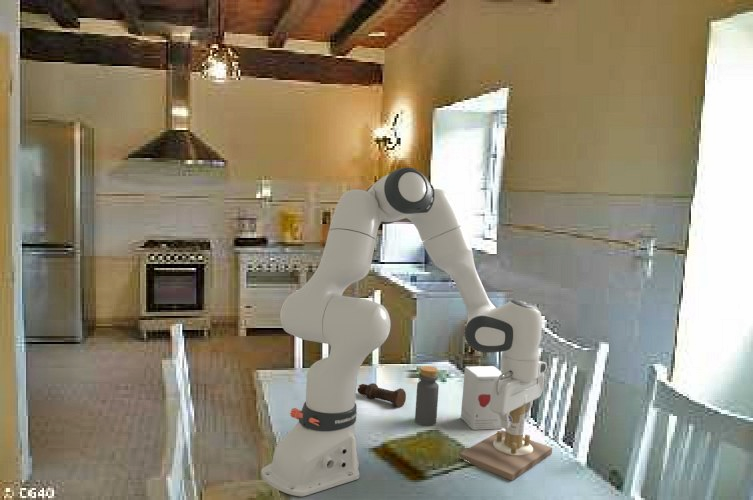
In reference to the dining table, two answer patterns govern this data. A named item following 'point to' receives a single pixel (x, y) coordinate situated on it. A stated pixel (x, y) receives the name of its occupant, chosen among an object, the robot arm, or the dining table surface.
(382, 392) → the bolt
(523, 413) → the sprinkles bottle
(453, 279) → the robot arm
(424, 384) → the bottle
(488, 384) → the supplement box
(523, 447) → the pin board
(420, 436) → the dining table surface
